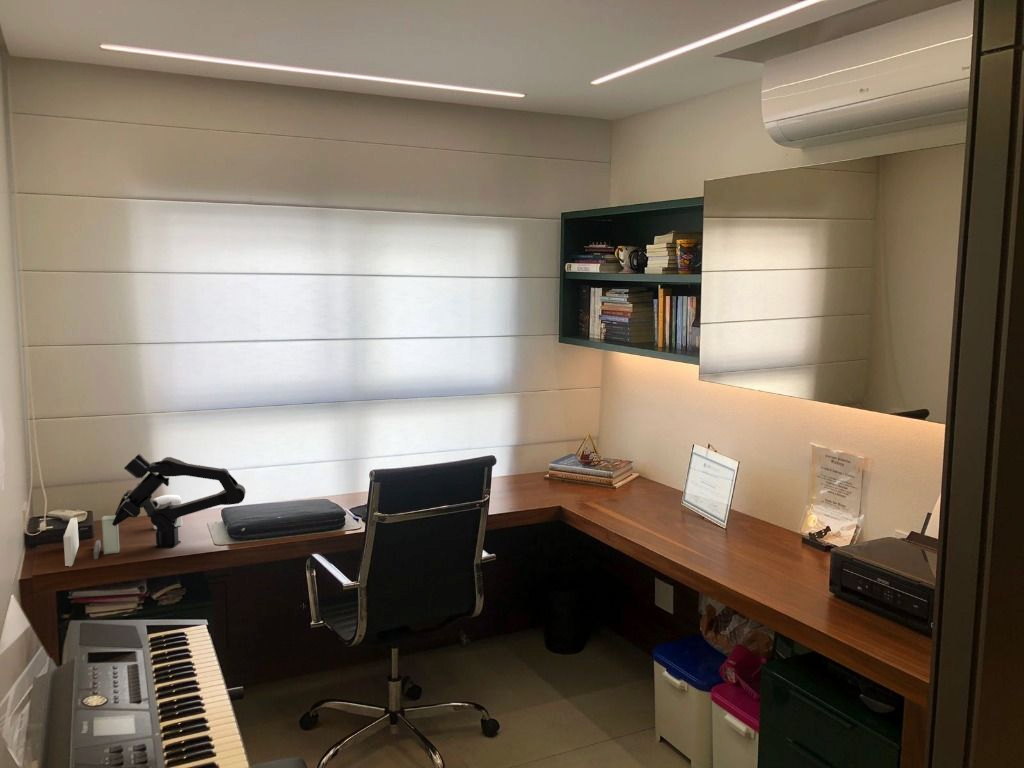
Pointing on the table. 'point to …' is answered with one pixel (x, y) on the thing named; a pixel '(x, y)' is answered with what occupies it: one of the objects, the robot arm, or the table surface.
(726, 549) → the table surface
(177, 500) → the photo printer
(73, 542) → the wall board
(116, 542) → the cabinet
